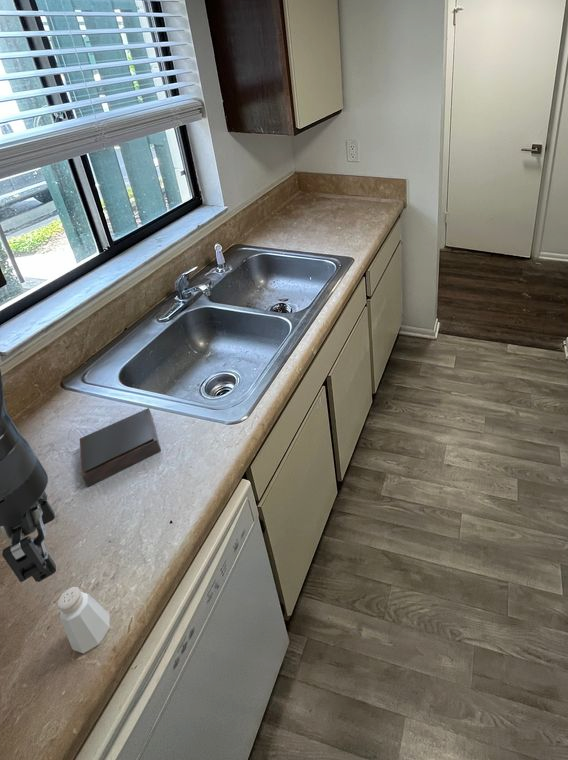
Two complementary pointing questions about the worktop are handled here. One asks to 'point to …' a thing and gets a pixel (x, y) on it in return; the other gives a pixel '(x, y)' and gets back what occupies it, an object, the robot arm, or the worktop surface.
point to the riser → (118, 447)
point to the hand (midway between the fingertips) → (46, 547)
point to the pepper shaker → (82, 619)
